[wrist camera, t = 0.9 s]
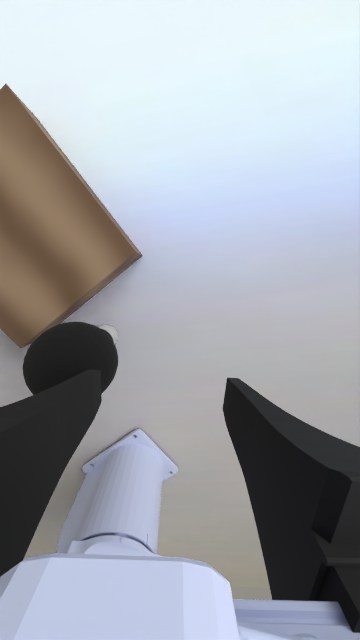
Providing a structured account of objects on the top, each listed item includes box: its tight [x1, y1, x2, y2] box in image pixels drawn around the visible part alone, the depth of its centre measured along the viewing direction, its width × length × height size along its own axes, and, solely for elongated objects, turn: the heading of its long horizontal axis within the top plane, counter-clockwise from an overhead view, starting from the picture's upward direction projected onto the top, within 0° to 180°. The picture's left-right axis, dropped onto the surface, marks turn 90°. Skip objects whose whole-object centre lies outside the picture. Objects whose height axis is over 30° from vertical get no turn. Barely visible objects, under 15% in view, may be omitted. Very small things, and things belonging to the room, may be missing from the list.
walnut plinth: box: [0, 84, 142, 348], centre depth 17 cm, size 14×14×3 cm
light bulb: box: [23, 322, 118, 395], centre depth 16 cm, size 6×6×10 cm
